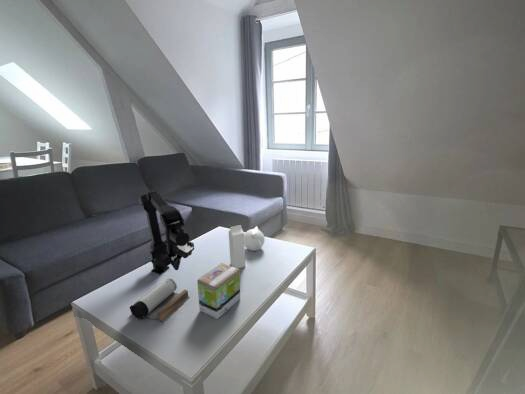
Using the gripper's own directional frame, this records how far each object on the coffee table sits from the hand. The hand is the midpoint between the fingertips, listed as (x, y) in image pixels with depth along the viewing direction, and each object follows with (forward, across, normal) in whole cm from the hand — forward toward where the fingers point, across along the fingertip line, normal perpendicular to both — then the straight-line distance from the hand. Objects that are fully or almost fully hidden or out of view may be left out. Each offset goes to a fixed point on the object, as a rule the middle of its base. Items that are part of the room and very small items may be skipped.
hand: (176, 270), depth 124 cm
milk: (+10, +28, -15) cm, 33 cm away
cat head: (+10, +47, -15) cm, 50 cm away
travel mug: (+6, -2, +2) cm, 7 cm away
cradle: (+10, -11, 0) cm, 15 cm away
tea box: (+10, -2, -23) cm, 25 cm away
